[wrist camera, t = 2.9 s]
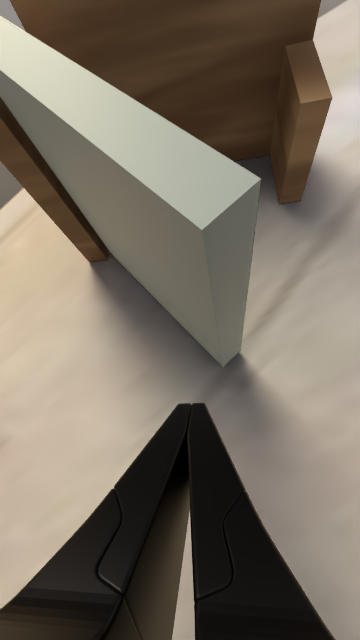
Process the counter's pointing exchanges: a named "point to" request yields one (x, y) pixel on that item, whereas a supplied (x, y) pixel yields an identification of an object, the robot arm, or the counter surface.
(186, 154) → the grey square panel
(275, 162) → the stool frame
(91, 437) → the counter surface
